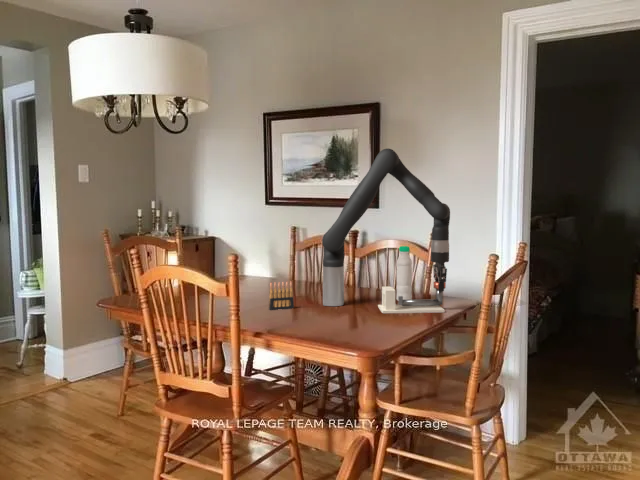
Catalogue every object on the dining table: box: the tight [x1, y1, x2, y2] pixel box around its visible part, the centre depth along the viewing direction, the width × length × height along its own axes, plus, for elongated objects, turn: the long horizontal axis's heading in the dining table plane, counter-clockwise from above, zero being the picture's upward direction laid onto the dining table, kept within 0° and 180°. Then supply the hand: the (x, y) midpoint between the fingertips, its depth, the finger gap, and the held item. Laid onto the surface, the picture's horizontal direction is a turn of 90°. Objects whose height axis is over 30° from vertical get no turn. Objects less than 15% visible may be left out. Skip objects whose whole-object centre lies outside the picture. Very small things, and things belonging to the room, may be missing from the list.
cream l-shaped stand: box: [377, 286, 446, 314], centre depth 243 cm, size 26×13×9 cm, turn 93°
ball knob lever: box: [397, 280, 447, 307], centre depth 243 cm, size 20×5×10 cm, turn 93°
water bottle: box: [395, 245, 413, 301], centre depth 262 cm, size 7×7×25 cm
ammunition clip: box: [268, 280, 295, 311], centre depth 245 cm, size 11×2×12 cm, turn 109°
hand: (439, 290), depth 243 cm, fingers closed on ball knob lever, 5 cm apart
